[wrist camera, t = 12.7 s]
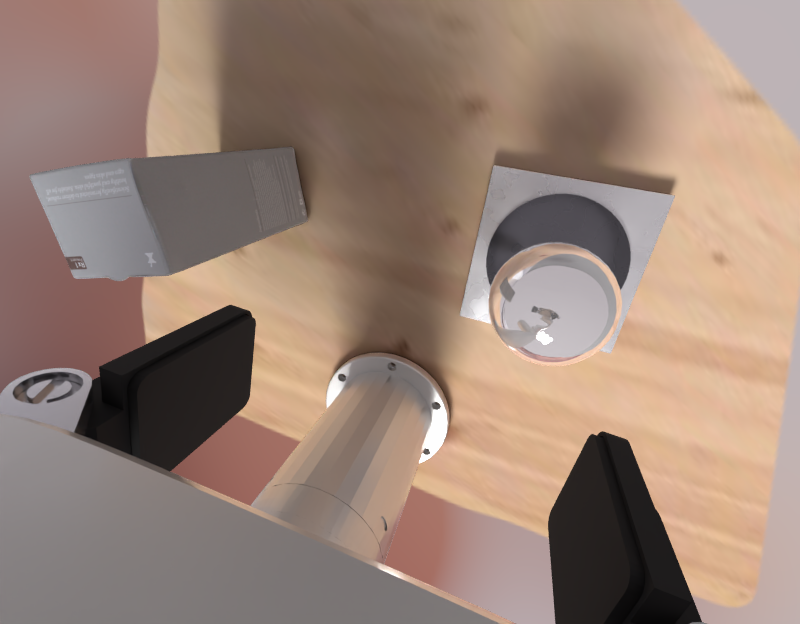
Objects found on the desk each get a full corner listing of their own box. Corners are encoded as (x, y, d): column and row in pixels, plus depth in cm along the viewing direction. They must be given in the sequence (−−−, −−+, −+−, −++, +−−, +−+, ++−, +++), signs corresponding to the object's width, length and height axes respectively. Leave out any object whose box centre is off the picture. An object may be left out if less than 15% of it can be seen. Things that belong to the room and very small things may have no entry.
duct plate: (608, 347, 32) (611, 355, 31) (461, 311, 35) (459, 317, 33) (670, 194, 27) (676, 196, 26) (494, 165, 30) (493, 165, 29)
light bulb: (502, 217, 30) (487, 252, 19) (605, 222, 28) (653, 263, 17) (494, 305, 32) (476, 380, 22) (587, 315, 30) (620, 401, 20)
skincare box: (296, 145, 34) (129, 138, 19) (312, 231, 36) (173, 280, 22) (214, 158, 36) (14, 159, 22) (234, 237, 39) (64, 284, 24)
